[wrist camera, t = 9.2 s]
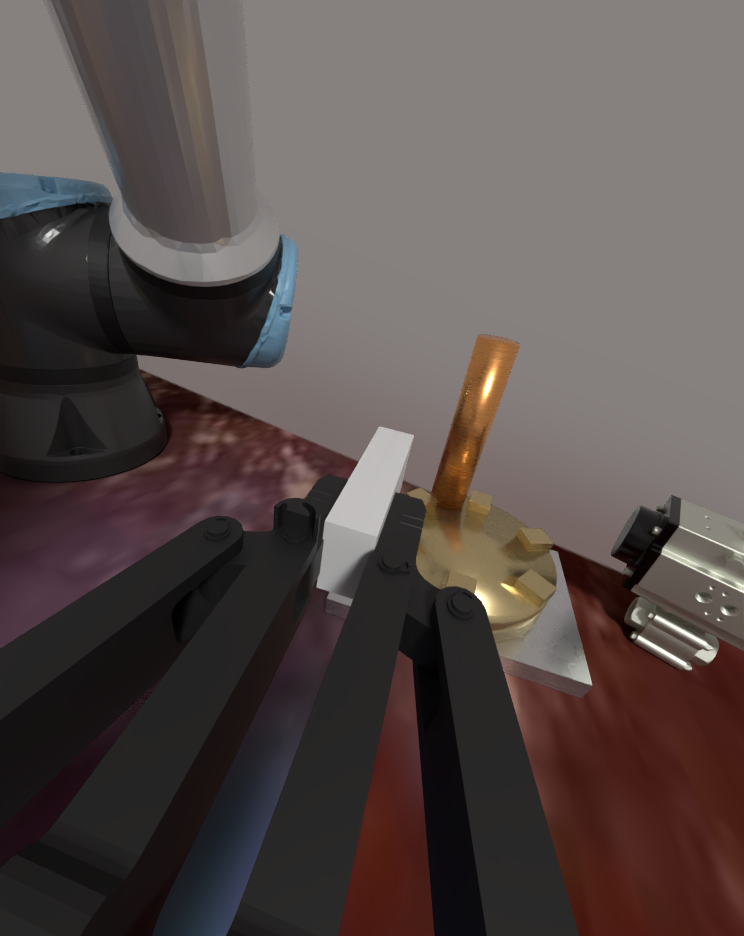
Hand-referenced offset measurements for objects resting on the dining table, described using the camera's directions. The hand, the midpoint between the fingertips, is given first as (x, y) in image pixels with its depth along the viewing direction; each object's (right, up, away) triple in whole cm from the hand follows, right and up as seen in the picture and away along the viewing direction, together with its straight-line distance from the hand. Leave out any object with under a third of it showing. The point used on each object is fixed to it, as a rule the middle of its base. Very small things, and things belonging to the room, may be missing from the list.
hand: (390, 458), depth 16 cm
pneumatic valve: (+21, -15, +13) cm, 29 cm away
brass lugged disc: (+6, -9, +15) cm, 18 cm away
